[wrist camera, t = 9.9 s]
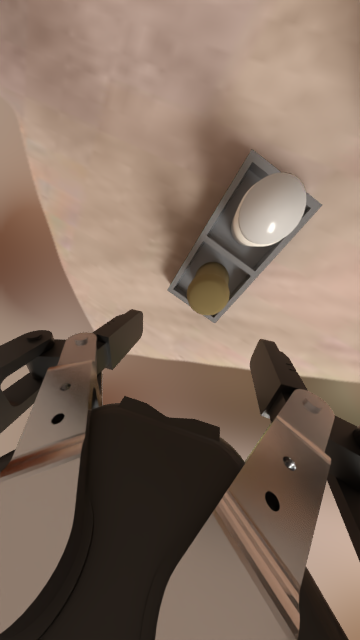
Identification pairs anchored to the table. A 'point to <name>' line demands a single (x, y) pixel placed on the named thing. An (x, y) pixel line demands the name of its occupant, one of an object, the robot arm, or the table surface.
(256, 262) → the caddy
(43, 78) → the table surface
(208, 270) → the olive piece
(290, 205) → the salt shaker
